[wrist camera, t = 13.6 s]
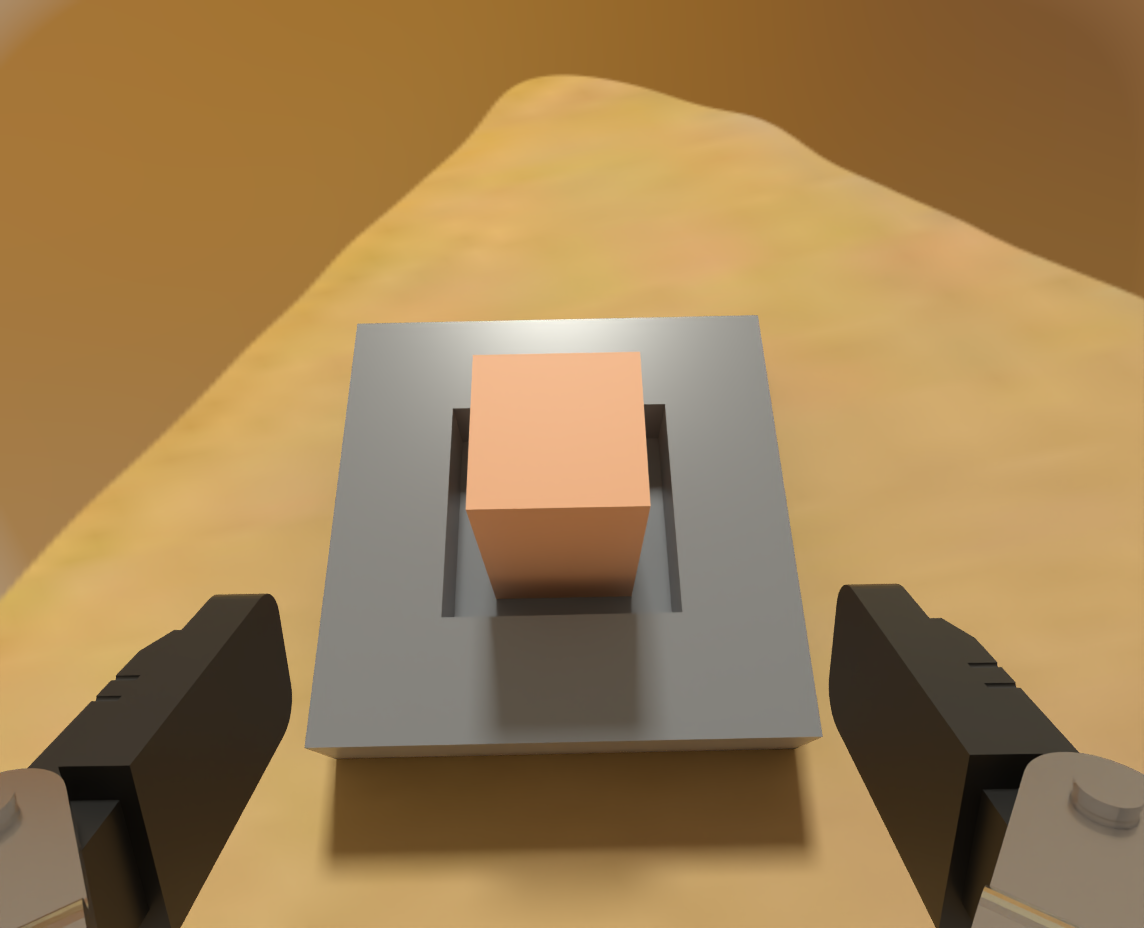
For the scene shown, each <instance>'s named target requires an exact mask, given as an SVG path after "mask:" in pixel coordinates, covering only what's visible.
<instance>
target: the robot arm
mask: <svg viewBox="0 0 1144 928" xmlns="http://www.w3.org/2000/svg"><path fill="white" fill-rule="evenodd" d="M96 697H97V698H96V701H91V702H90V703H89V704H88V705H87V706H86V707H85V709H84V710H83V711H82V712H81V713H80V714H79V715H78V716H77V717H76V718H75V719H74V720H73V721H72V722H71V723H70V724H69V725H68V726H67V727H66V728H65V729H64V731H63V732H62V733H61V734H60V735H59V736H58V737H57V738H56V739H55V740H54V741H53V742H52V743H51V744H50V745H49V746H48V747H47V748H46V749H45V750H44V751H43V752H42V754H41V755H40V756H39V757H38V758H37V759H36V760H35V761H34V762H33V763H32V764H31V765H30V766H29V767H28V768H27V769H16V770H9V771H5V772H1V773H0V928H180V927H181V926H182V924H183V922H184V920H185V918H186V916H187V914H188V913H189V911H190V909H191V907H192V905H193V903H194V901H195V900H196V898H197V896H198V894H199V892H200V890H201V888H202V887H203V885H204V883H205V881H206V879H207V877H208V875H209V874H210V872H211V870H212V868H213V866H214V864H215V862H216V861H217V859H218V857H219V855H220V853H221V851H222V849H223V848H224V846H225V844H226V842H227V840H228V838H229V836H230V835H231V833H232V831H233V829H234V827H235V825H236V823H237V822H238V820H239V818H240V816H241V814H242V812H243V810H244V809H245V807H246V805H247V803H248V801H249V799H250V797H251V796H252V794H253V792H254V790H255V788H256V786H257V784H258V783H259V781H260V779H261V777H262V775H263V773H264V771H265V770H266V768H267V766H268V764H269V762H270V760H271V758H272V756H273V755H274V753H275V751H276V749H277V747H278V745H279V743H280V742H281V740H282V738H283V736H284V734H285V732H286V729H287V726H288V723H289V719H290V714H291V705H292V689H291V682H290V676H289V670H288V664H287V658H286V652H285V646H284V639H283V633H282V627H281V621H280V615H279V610H278V606H277V603H276V601H275V599H274V597H273V596H272V595H270V594H228V595H214V596H213V597H211V598H210V599H209V600H208V601H207V602H206V604H205V605H204V606H203V607H202V608H201V609H200V610H199V611H198V612H197V613H196V615H195V616H194V617H193V618H192V619H191V620H190V621H189V622H188V623H187V625H186V626H185V627H184V628H183V629H182V630H173V631H172V632H170V633H169V634H167V635H165V636H164V637H162V638H160V639H159V640H157V641H155V642H154V643H152V644H150V645H149V646H147V647H145V648H144V649H142V650H140V651H139V652H138V653H137V654H136V655H135V656H134V657H133V658H132V659H131V660H130V661H129V662H128V664H127V665H126V666H125V667H124V668H123V669H122V670H121V671H120V672H119V673H118V674H117V675H116V680H112V681H110V682H109V683H108V684H107V686H106V687H105V688H104V689H103V690H102V691H101V692H100V693H99V694H98V695H97V696H96ZM829 697H830V705H831V710H832V715H833V719H834V722H835V724H836V727H837V729H838V731H839V733H840V735H841V737H842V739H843V741H844V743H845V745H846V747H847V749H848V751H849V753H850V755H851V757H852V759H853V761H854V763H855V765H856V767H857V769H858V771H859V773H860V775H861V777H862V779H863V781H864V783H865V785H866V787H867V789H868V791H869V794H870V796H871V798H872V800H873V802H874V804H875V806H876V808H877V810H878V812H879V814H880V816H881V818H882V820H883V822H884V824H885V826H886V828H887V830H888V832H889V834H890V836H891V838H892V840H893V842H894V844H895V846H896V848H897V850H898V852H899V854H900V856H901V858H902V860H903V862H904V864H905V866H906V868H907V870H908V872H909V874H910V876H911V878H912V880H913V882H914V884H915V886H916V888H917V890H918V892H919V895H920V897H921V899H922V901H923V903H924V905H925V907H926V909H927V911H928V913H929V915H930V917H931V919H932V921H933V923H934V925H935V927H936V928H1144V775H1143V774H1142V773H1140V772H1138V771H1136V770H1134V769H1132V768H1129V767H1127V766H1125V765H1122V764H1120V763H1117V762H1114V761H1112V760H1108V759H1105V758H1102V757H1098V756H1094V755H1089V754H1084V753H1079V752H1078V751H1077V750H1076V749H1075V748H1074V746H1073V745H1072V744H1071V743H1070V742H1069V741H1068V740H1067V739H1066V738H1065V737H1064V735H1063V734H1062V733H1061V732H1060V731H1059V730H1058V729H1057V728H1056V727H1055V726H1054V724H1053V723H1052V722H1051V721H1050V720H1049V719H1048V718H1047V717H1046V716H1045V715H1044V713H1043V712H1042V711H1041V710H1040V709H1039V708H1038V707H1037V706H1036V705H1035V704H1034V702H1033V701H1032V700H1031V699H1030V698H1029V697H1028V696H1027V695H1026V694H1025V693H1024V691H1023V690H1022V689H1021V688H1016V685H1015V682H1014V680H1013V679H1012V678H1011V677H1010V676H1009V675H1008V674H1007V673H1006V672H1005V670H1004V669H1003V668H1002V667H998V666H997V662H996V661H995V659H994V658H993V657H992V656H991V655H990V654H989V653H988V652H987V651H986V650H985V648H984V647H983V646H982V645H981V644H980V643H979V642H978V641H977V640H976V639H975V638H974V637H972V636H971V635H969V634H967V633H965V632H964V631H962V630H960V629H959V628H957V627H955V626H954V625H952V624H950V623H949V622H947V621H945V620H944V619H942V618H929V617H928V616H927V615H926V614H925V612H924V611H923V610H922V609H921V608H920V606H919V605H918V604H917V603H916V602H915V601H914V599H913V598H912V597H911V596H910V595H909V593H908V592H907V591H906V590H905V589H904V588H903V587H902V586H901V585H899V584H859V585H844V586H843V587H842V588H841V589H840V592H839V594H838V599H837V606H836V616H835V626H834V636H833V646H832V655H831V665H830V675H829Z"/></svg>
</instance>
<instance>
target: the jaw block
mask: <svg viewBox="0 0 1144 928" xmlns="http://www.w3.org/2000/svg"><path fill="white" fill-rule="evenodd" d="M650 507H651V504H650V490H649V475H648V460H647V445H646V431H645V416H644V401H643V386H642V372H641V357H640V352H600V353H550V354H500V355H473V361H472V383H471V405H470V426H469V448H468V470H467V492H466V512H467V515H468V518H469V521H470V524H471V527H472V530H473V533H474V536H475V539H476V541H477V544H478V547H479V550H480V553H481V556H482V559H483V562H484V565H485V568H486V571H487V574H488V577H489V580H490V582H491V585H492V588H493V591H494V594H495V597H496V599H520V598H570V597H620V596H632V592H633V587H634V582H635V578H636V573H637V568H638V563H639V559H640V554H641V549H642V544H643V540H644V535H645V530H646V526H647V521H648V516H649V511H650Z"/></svg>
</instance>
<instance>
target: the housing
mask: <svg viewBox="0 0 1144 928" xmlns="http://www.w3.org/2000/svg"><path fill="white" fill-rule="evenodd" d="M600 352H640V357H641V372H642V386H643V401H644V416H645V431H646V445H647V460H648V475H649V490H650V504H651V507H650V511H649V516H648V521H647V526H646V530H645V535H644V540H643V544H642V549H641V554H640V559H639V563H638V568H637V573H636V578H635V582H634V587H633V592H632V596H620V597H570V598H520V599H496V597H495V594H494V591H493V588H492V585H491V582H490V580H489V577H488V574H487V571H486V568H485V565H484V562H483V559H482V556H481V553H480V550H479V547H478V544H477V541H476V539H475V536H474V533H473V530H472V527H471V524H470V521H469V518H468V515H467V512H466V492H467V470H468V448H469V426H470V405H471V383H472V361H473V355H500V354H550V353H600ZM821 737H823V736H822V730H821V723H820V717H819V710H818V704H817V697H816V691H815V684H814V678H813V671H812V665H811V658H810V652H809V645H808V639H807V632H806V626H805V619H804V613H803V606H802V600H801V593H800V587H799V580H798V574H797V567H796V561H795V554H794V548H793V541H792V535H791V528H790V522H789V515H788V509H787V502H786V496H785V489H784V483H783V476H782V470H781V463H780V457H779V450H778V444H777V437H776V431H775V424H774V418H773V411H772V405H771V398H770V392H769V385H768V379H767V372H766V366H765V359H764V353H763V346H762V340H761V333H760V327H759V320H758V315H750V316H704V317H657V318H610V319H563V320H516V321H469V322H422V323H376V324H357V332H356V340H355V348H354V356H353V364H352V372H351V380H350V388H349V396H348V404H347V412H346V420H345V428H344V436H343V444H342V452H341V460H340V468H339V476H338V484H337V492H336V500H335V508H334V516H333V524H332V532H331V540H330V548H329V557H328V565H327V573H326V581H325V589H324V597H323V605H322V613H321V621H320V629H319V637H318V645H317V653H316V661H315V669H314V677H313V685H312V693H311V701H310V709H309V717H308V725H307V733H306V741H305V748H306V749H309V750H312V751H315V752H318V753H321V754H324V755H326V756H329V757H332V758H335V759H349V758H395V757H441V756H487V755H533V754H579V753H624V752H670V751H716V750H762V749H795V748H798V747H800V746H802V745H805V744H807V743H809V742H811V741H814V740H816V739H818V738H821Z"/></svg>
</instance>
